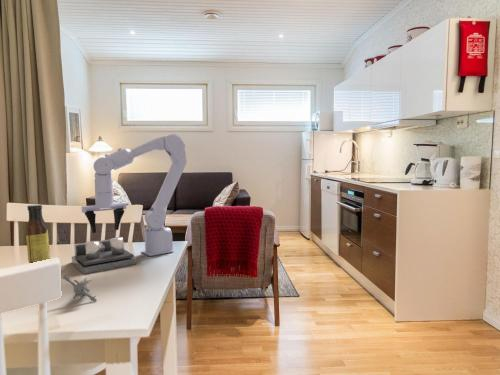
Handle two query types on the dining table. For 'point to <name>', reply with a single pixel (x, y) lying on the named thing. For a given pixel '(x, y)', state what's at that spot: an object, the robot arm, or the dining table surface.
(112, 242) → the steel spacer
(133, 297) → the dining table surface
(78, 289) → the grey piece
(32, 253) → the sauce bottle
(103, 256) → the pan
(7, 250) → the dining table surface
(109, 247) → the scale
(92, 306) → the dining table surface
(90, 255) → the steel spacer
